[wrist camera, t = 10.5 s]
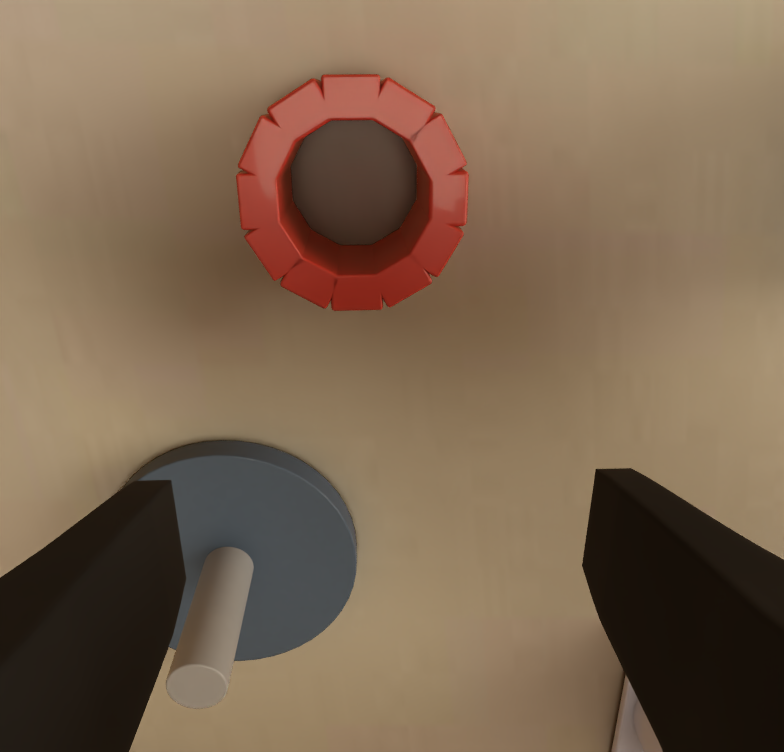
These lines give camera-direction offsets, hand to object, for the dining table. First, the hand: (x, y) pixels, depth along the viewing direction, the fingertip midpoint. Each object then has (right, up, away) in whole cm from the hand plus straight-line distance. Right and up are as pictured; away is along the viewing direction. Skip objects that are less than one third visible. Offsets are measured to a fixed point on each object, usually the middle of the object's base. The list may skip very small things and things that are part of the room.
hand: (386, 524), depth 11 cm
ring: (-1, +8, +7) cm, 10 cm away
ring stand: (-5, -3, +11) cm, 13 cm away
